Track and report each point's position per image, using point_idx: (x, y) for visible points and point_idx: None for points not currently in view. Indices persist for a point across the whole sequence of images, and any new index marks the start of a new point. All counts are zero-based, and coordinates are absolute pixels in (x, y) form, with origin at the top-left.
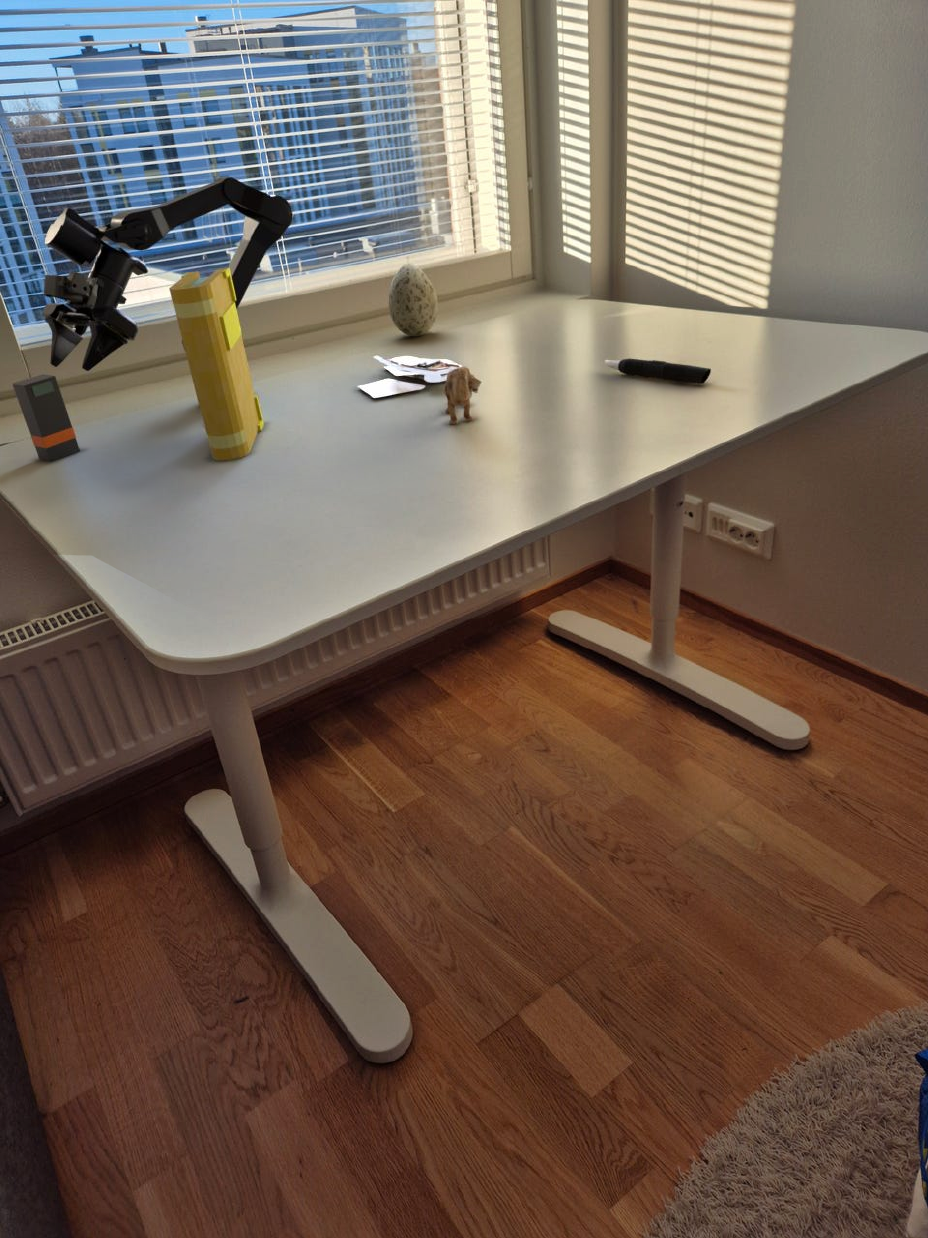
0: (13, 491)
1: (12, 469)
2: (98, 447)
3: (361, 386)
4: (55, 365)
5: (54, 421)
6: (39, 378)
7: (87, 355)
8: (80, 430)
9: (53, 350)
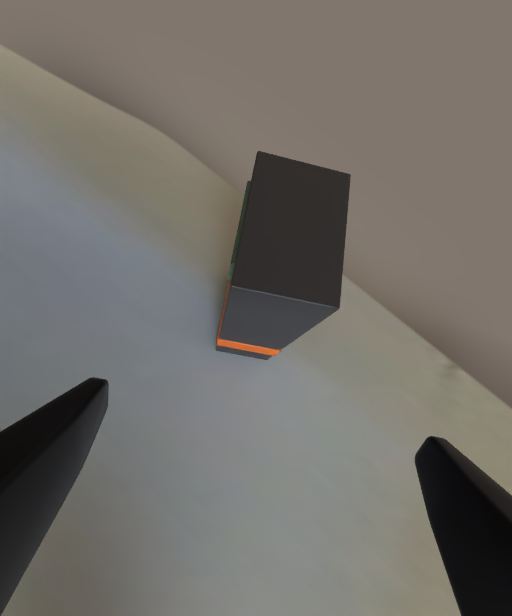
0: (172, 145)
1: None
2: (184, 382)
3: None
4: (419, 454)
5: (229, 284)
6: (282, 241)
7: (19, 421)
8: (360, 488)
9: (500, 506)
